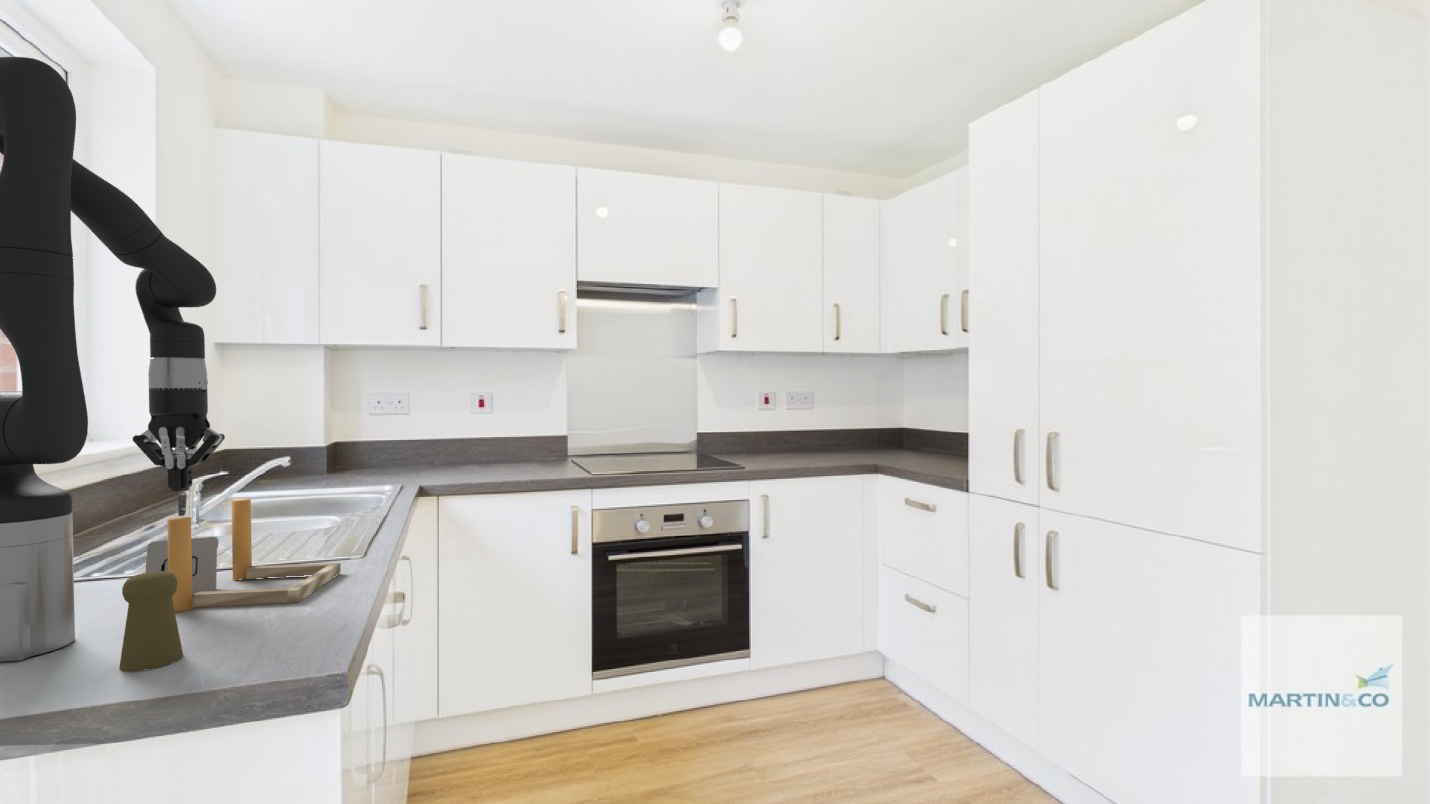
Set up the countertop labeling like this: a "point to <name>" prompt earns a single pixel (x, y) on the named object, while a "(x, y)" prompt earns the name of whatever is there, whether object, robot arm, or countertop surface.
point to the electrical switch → (201, 561)
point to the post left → (180, 561)
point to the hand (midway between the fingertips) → (180, 491)
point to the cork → (150, 622)
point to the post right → (241, 537)
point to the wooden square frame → (273, 595)
